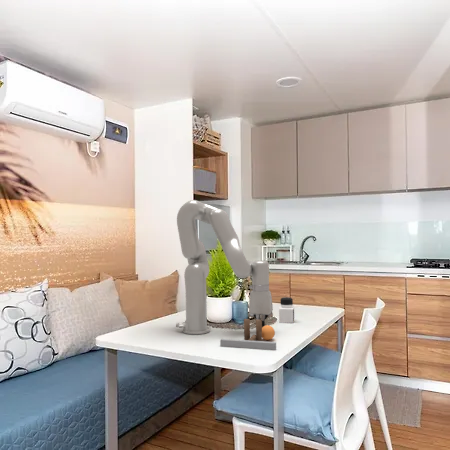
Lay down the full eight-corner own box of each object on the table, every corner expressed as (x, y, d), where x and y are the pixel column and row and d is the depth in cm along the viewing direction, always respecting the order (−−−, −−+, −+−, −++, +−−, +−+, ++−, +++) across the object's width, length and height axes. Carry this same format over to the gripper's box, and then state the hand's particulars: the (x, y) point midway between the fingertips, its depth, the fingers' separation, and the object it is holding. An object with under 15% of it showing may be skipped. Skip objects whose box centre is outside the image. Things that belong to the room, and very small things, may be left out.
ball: (273, 329, 170) (270, 320, 175) (259, 334, 170) (257, 325, 176) (277, 340, 172) (275, 331, 178) (264, 345, 173) (262, 335, 178)
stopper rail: (220, 346, 165) (220, 339, 165) (221, 344, 167) (221, 338, 167) (275, 350, 159) (275, 343, 159) (276, 348, 161) (276, 342, 161)
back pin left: (244, 342, 171) (244, 320, 171) (243, 340, 173) (243, 318, 173) (250, 341, 171) (250, 319, 171) (249, 340, 174) (249, 318, 174)
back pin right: (256, 342, 169) (256, 320, 170) (255, 341, 172) (255, 319, 172) (262, 342, 170) (262, 320, 170) (261, 341, 172) (261, 319, 172)
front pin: (253, 341, 174) (247, 346, 166) (250, 335, 175) (245, 340, 166) (258, 339, 174) (253, 344, 165) (256, 333, 174) (250, 339, 165)
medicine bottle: (293, 323, 205) (293, 298, 206) (279, 322, 207) (278, 298, 207) (294, 320, 212) (293, 296, 213) (280, 319, 214) (279, 296, 214)
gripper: (242, 288, 186) (243, 330, 186) (275, 289, 182) (276, 332, 181) (246, 286, 193) (247, 326, 193) (278, 287, 189) (279, 328, 188)
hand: (261, 329), depth 187 cm, fingers closed
